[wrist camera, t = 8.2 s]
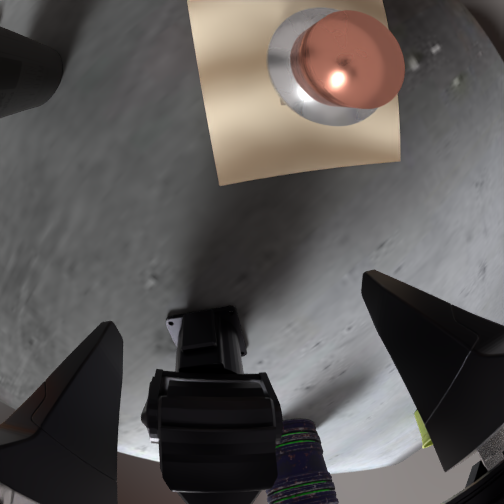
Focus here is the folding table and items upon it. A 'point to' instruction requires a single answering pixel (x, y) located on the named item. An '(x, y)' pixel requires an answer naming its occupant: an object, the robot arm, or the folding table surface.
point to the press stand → (274, 96)
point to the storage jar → (301, 467)
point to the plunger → (334, 65)
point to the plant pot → (423, 431)
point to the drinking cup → (26, 73)
